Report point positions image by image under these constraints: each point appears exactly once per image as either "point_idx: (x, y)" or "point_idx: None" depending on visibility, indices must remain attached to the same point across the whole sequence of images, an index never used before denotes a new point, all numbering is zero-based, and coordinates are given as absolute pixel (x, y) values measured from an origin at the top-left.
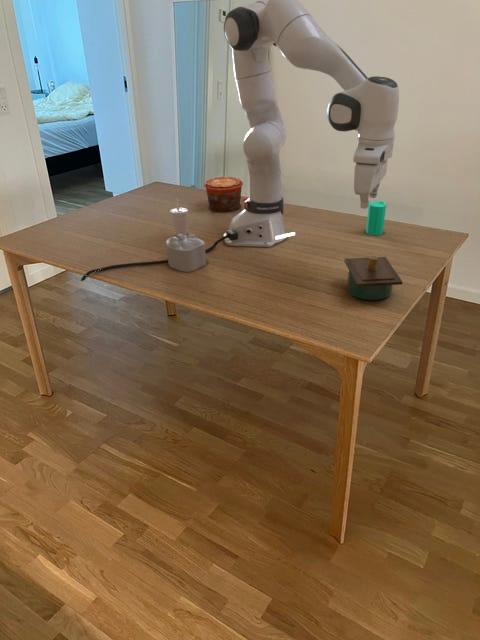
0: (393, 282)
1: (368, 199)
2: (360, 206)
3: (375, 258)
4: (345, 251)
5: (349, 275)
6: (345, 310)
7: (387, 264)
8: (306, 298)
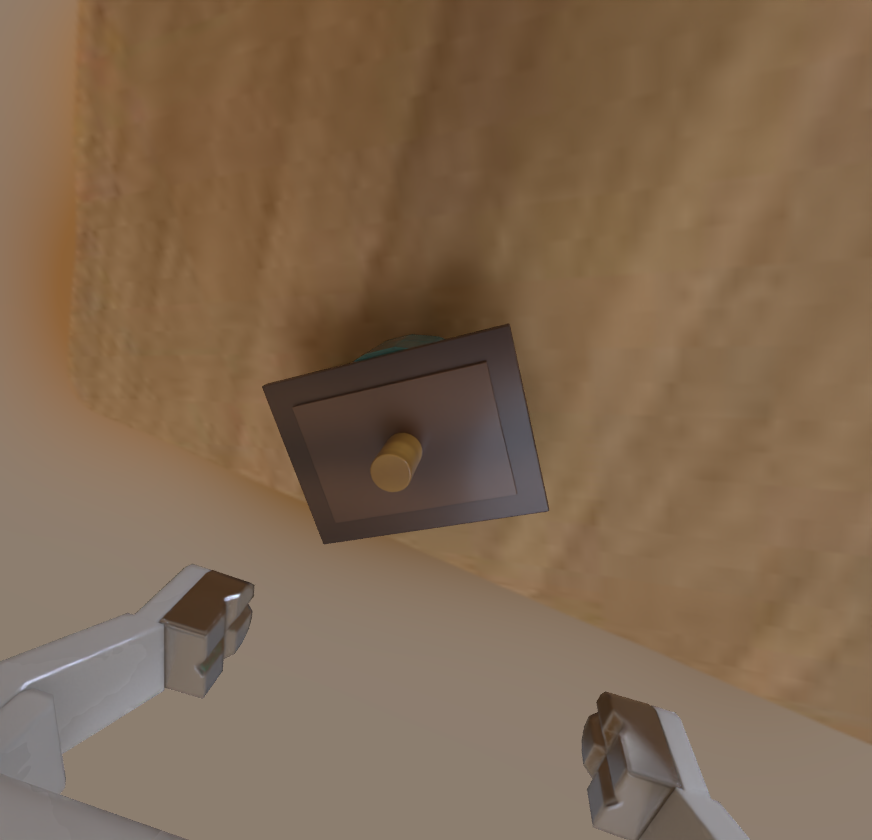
0: (312, 515)
1: (122, 714)
2: (185, 568)
3: (383, 481)
4: (847, 312)
5: (372, 351)
6: (272, 332)
7: (466, 511)
8: (318, 170)
